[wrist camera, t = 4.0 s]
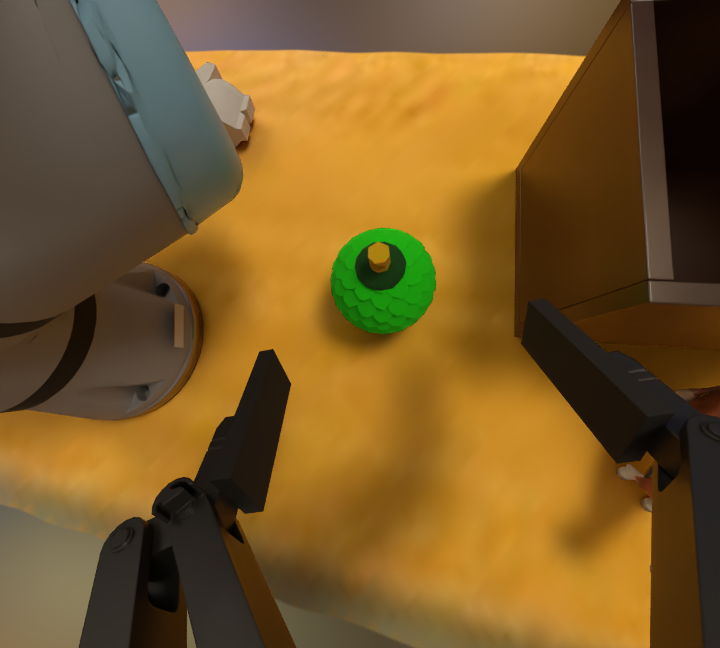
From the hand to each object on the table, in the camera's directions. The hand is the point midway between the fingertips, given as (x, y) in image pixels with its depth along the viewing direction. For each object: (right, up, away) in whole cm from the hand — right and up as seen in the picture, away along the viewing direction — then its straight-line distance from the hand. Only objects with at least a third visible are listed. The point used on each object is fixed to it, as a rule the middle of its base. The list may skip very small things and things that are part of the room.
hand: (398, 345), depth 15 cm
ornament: (0, +4, +12) cm, 12 cm away
